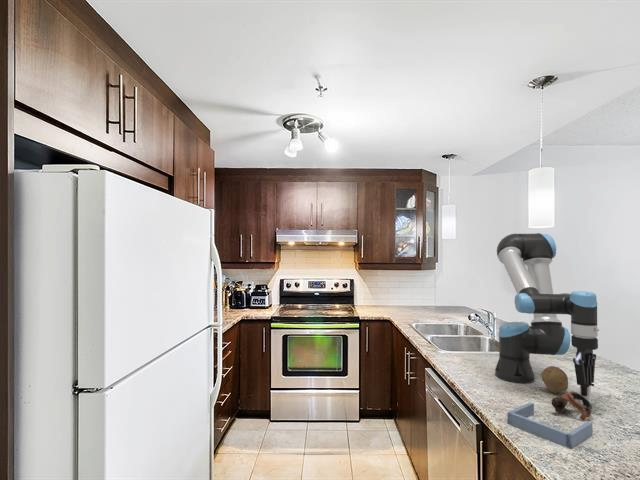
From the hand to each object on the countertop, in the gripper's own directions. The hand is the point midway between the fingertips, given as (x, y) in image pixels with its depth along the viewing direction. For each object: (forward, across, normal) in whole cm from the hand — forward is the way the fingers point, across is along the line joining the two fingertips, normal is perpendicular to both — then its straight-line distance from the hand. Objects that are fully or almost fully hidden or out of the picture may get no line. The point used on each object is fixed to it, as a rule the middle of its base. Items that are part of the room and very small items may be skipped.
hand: (586, 404), depth 127 cm
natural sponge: (+2, +7, +13) cm, 15 cm away
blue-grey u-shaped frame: (+2, -26, 0) cm, 26 cm away
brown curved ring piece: (+2, -10, +1) cm, 10 cm away
